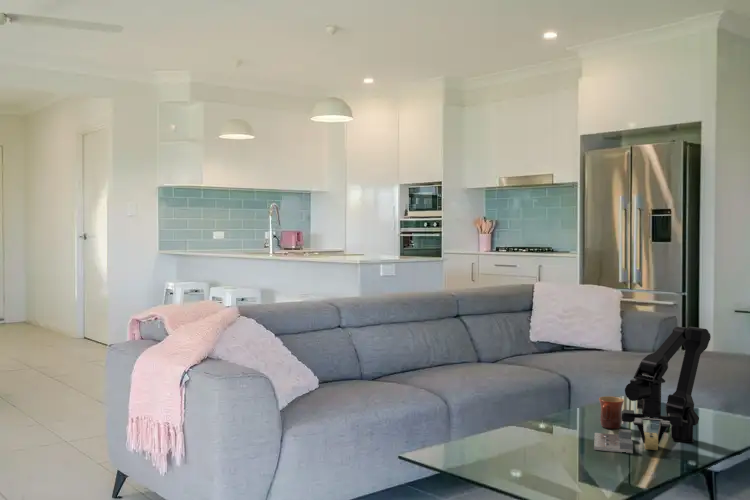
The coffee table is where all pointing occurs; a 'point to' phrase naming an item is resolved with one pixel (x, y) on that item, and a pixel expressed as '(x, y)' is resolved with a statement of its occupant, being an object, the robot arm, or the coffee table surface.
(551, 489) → the coffee table surface
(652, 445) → the block
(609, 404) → the mug
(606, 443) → the steel hinge plate
